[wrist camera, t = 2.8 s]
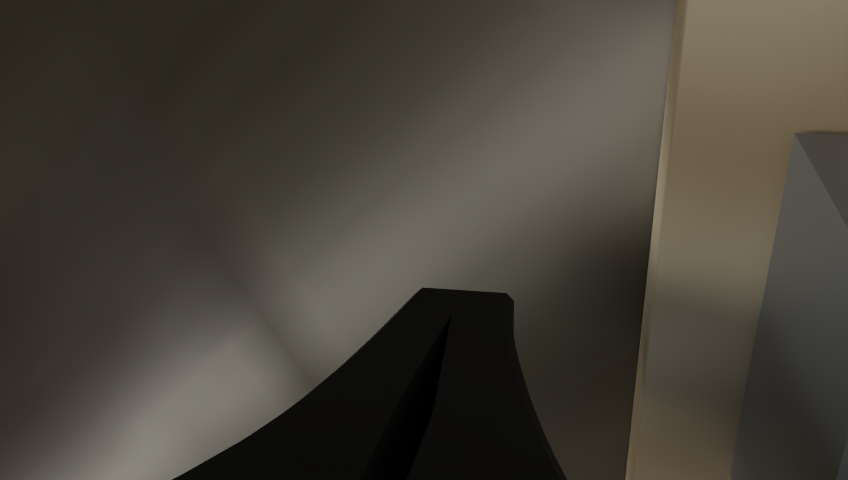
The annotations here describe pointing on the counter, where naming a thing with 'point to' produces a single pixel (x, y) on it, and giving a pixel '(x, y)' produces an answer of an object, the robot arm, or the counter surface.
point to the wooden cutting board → (724, 214)
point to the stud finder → (802, 328)
